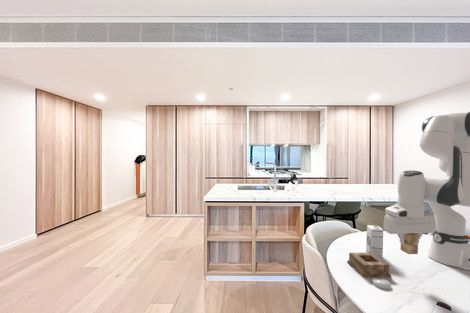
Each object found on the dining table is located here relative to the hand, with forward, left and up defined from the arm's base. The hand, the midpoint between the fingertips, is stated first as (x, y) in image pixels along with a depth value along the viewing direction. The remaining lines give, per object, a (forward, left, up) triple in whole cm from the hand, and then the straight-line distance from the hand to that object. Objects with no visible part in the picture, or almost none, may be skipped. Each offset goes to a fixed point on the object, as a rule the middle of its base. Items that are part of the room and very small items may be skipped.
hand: (409, 243), depth 92 cm
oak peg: (0, 0, -4) cm, 4 cm away
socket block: (+13, -7, -15) cm, 21 cm away
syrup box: (+1, -20, -15) cm, 25 cm away
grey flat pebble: (+15, +4, -15) cm, 21 cm away
